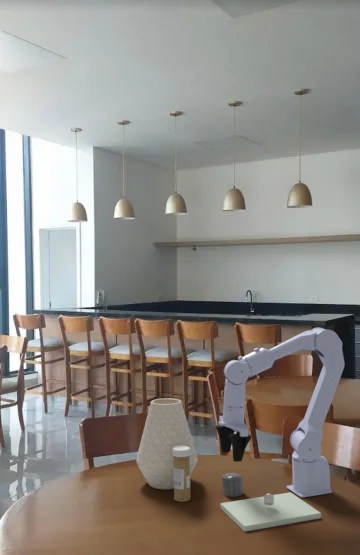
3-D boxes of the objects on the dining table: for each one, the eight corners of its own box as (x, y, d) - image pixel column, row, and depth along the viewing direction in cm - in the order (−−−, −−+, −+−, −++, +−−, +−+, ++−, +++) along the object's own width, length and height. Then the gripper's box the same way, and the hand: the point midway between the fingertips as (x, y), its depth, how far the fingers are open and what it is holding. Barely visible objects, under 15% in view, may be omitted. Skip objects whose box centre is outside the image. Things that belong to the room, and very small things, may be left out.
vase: (209, 478, 156) (207, 398, 157) (176, 498, 142) (175, 410, 142) (159, 468, 166) (158, 393, 166) (124, 486, 151) (122, 404, 152)
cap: (237, 488, 148) (237, 471, 148) (245, 495, 143) (245, 478, 143) (220, 490, 147) (219, 474, 147) (227, 497, 142) (227, 480, 142)
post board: (290, 496, 142) (290, 478, 142) (321, 518, 128) (320, 498, 128) (220, 508, 135) (220, 489, 135) (244, 531, 122) (244, 510, 122)
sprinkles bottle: (194, 499, 141) (193, 448, 141) (179, 504, 138) (178, 451, 139) (184, 494, 145) (183, 444, 145) (170, 498, 142) (169, 447, 142)
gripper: (210, 400, 151) (207, 449, 151) (231, 412, 137) (228, 466, 137) (233, 399, 153) (230, 448, 153) (256, 411, 139) (254, 464, 139)
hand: (231, 456), depth 145 cm, fingers open, 7 cm apart
